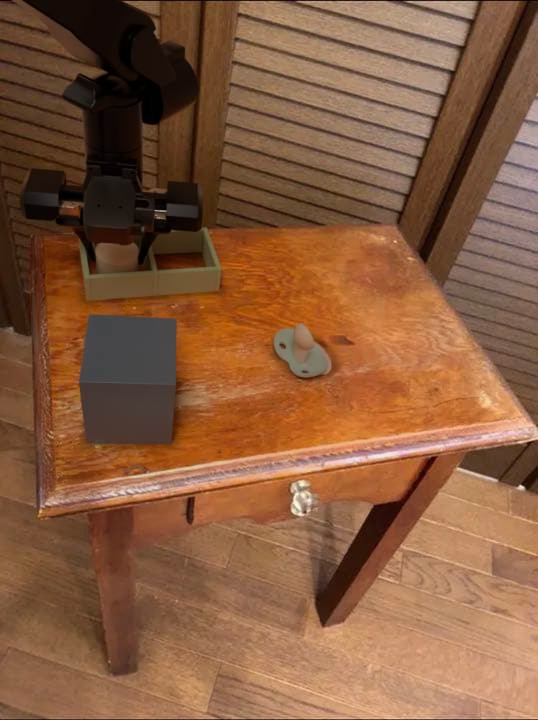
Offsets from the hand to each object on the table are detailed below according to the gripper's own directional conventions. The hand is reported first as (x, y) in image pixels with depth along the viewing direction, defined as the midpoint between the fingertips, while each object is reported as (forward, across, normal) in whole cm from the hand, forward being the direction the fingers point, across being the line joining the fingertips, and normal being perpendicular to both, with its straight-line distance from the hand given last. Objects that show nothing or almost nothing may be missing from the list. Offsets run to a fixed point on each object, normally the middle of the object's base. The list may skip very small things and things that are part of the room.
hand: (117, 260), depth 70 cm
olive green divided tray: (+3, +4, +1) cm, 5 cm away
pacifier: (+3, +22, -12) cm, 25 cm away
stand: (+3, +3, -20) cm, 21 cm away
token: (+1, 0, 0) cm, 1 cm away
